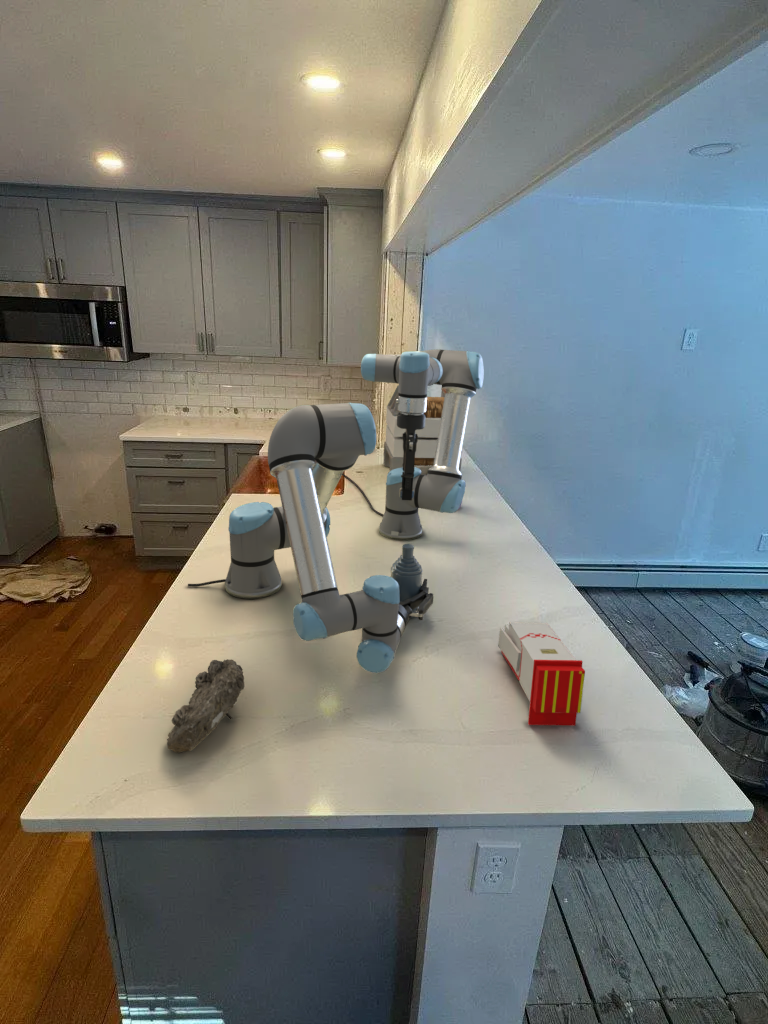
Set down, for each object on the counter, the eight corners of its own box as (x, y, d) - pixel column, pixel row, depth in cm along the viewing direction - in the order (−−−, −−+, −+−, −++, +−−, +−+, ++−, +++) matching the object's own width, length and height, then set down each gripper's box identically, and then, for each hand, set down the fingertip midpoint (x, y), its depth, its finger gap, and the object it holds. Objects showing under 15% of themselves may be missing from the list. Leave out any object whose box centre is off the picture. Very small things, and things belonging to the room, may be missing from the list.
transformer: (382, 463, 289) (386, 382, 275) (445, 464, 293) (451, 384, 279) (390, 482, 257) (394, 392, 243) (460, 483, 261) (468, 394, 247)
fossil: (192, 660, 117) (244, 628, 112) (224, 691, 120) (276, 661, 115) (142, 746, 98) (202, 712, 93) (182, 779, 101) (242, 748, 96)
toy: (544, 607, 134) (594, 667, 105) (539, 659, 137) (586, 732, 108) (493, 606, 134) (529, 666, 105) (489, 658, 137) (523, 731, 107)
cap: (396, 496, 157) (396, 489, 156) (406, 493, 160) (406, 486, 159) (406, 499, 154) (407, 492, 154) (416, 497, 157) (417, 490, 156)
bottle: (389, 602, 153) (392, 538, 147) (419, 603, 153) (424, 540, 147) (388, 617, 146) (391, 551, 139) (419, 619, 145) (424, 553, 139)
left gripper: (345, 630, 134) (370, 587, 155) (433, 645, 130) (447, 599, 151) (346, 602, 132) (371, 562, 152) (435, 616, 127) (449, 573, 148)
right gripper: (396, 406, 157) (392, 487, 165) (398, 417, 141) (393, 506, 149) (423, 408, 157) (418, 488, 165) (428, 419, 141) (421, 507, 149)
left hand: (409, 581), depth 152 cm, fingers closed on bottle, 8 cm apart
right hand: (406, 497), depth 157 cm, fingers closed on cap, 4 cm apart
